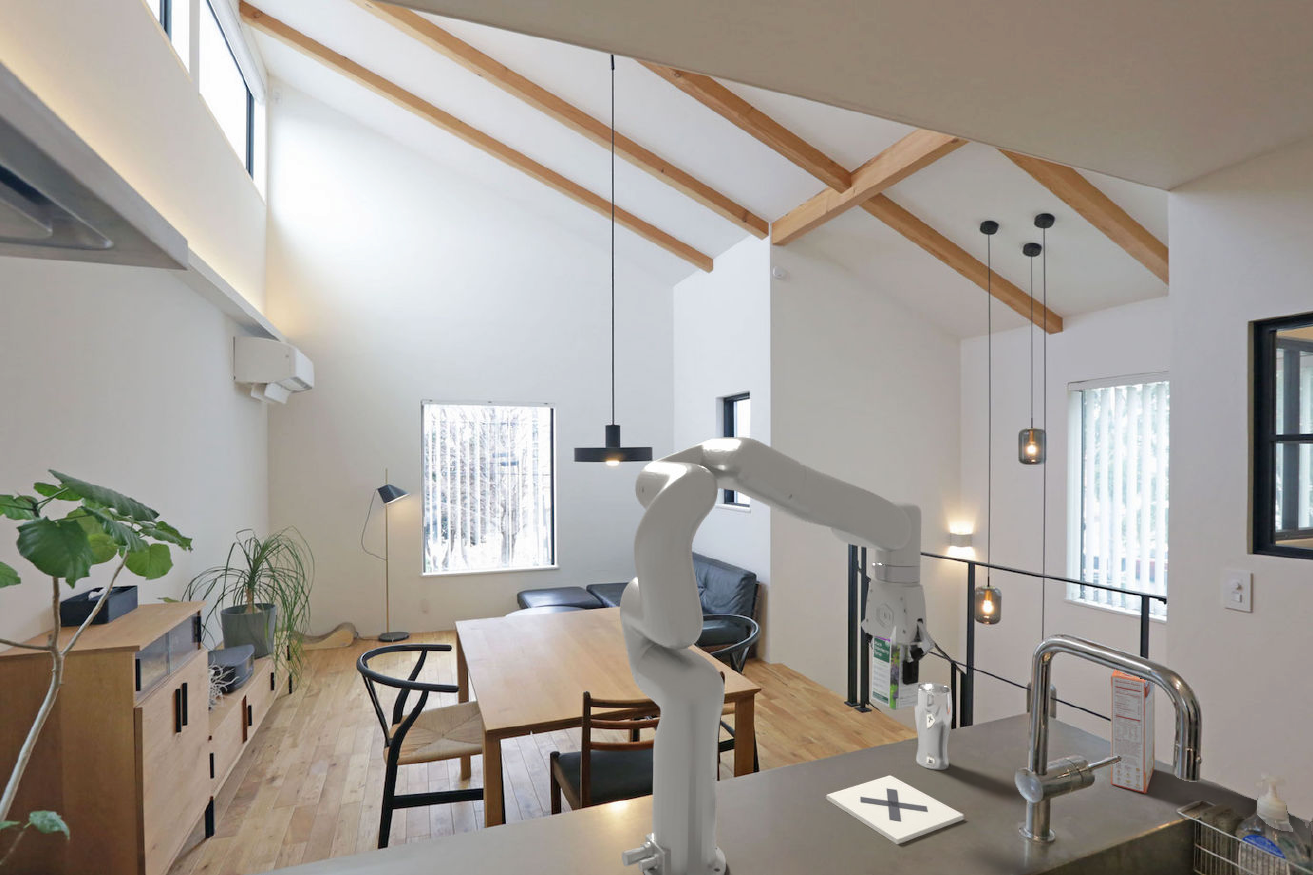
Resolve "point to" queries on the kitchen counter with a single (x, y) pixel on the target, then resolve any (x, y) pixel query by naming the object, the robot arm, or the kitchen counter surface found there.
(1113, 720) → the cracker box
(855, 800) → the letter placard
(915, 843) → the kitchen counter surface
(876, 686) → the syrup box
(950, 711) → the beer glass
